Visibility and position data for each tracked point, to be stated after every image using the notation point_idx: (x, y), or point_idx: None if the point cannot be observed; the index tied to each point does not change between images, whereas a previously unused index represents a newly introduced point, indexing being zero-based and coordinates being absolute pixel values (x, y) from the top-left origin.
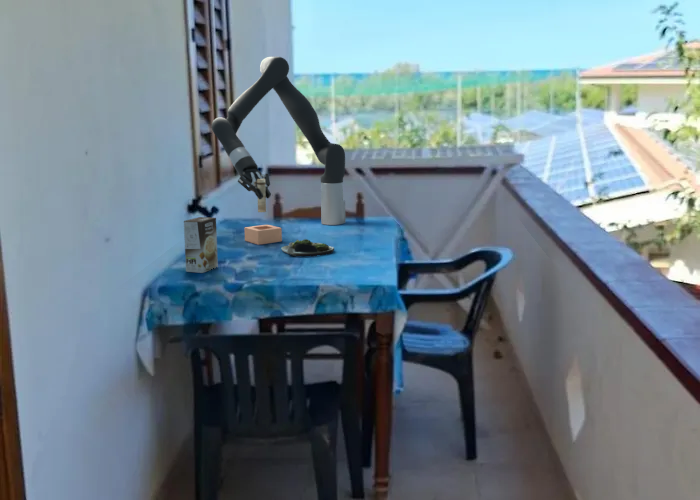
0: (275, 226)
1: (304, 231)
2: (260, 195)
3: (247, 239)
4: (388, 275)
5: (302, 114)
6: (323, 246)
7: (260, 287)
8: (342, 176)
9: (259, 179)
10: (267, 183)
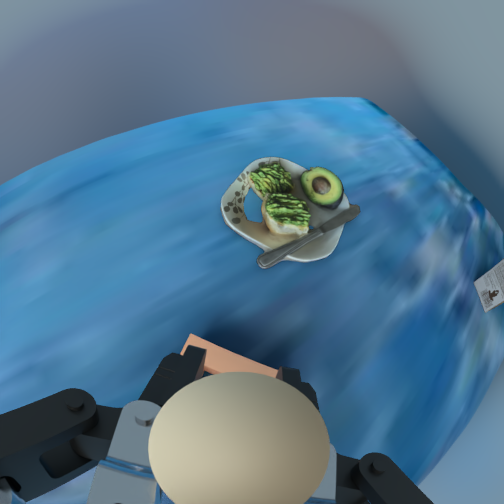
0: None
1: (26, 353)
2: (303, 382)
3: None
4: (335, 98)
5: None
6: (280, 166)
7: (460, 182)
8: None
9: (283, 465)
10: (84, 416)
